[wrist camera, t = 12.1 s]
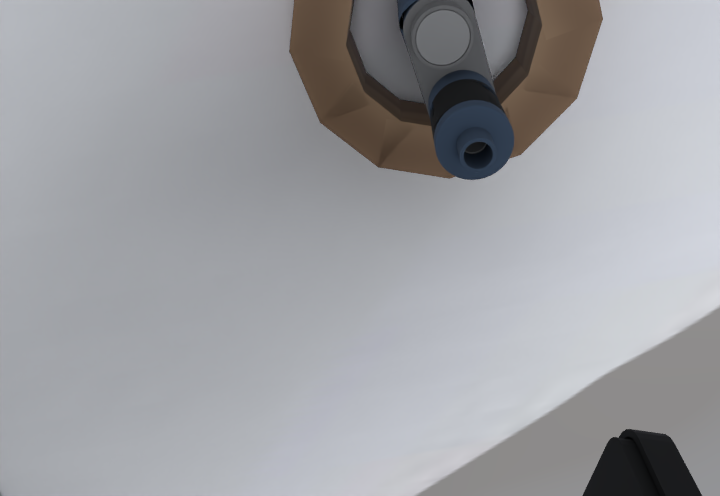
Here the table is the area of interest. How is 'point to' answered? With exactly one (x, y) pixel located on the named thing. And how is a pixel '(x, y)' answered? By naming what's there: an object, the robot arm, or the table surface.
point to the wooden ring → (410, 119)
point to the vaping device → (456, 86)
